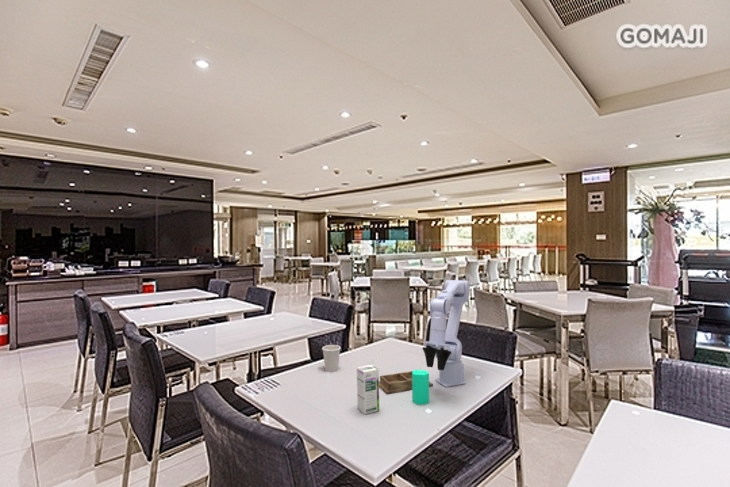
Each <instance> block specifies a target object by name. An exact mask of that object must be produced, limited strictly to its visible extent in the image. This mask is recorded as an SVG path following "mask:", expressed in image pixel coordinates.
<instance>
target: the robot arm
mask: <svg viewBox="0 0 730 487" xmlns="http://www.w3.org/2000/svg"><path fill="white" fill-rule="evenodd" d="M470 285H471V284H470V282H469V281H468V280H467V279H466V280H461V279H460V280H459V279H458V280H457V279H446V280H445V281H444V289H442V291H440V292H439V294H438V296H437V297H436V298H433V299H431V300H430V303H429V313H430V314H429V316H430V331H429V341H427V340H425V341H424V346H423V347H422V351H423V353H424V356H425V362H426V363H425V364H426V367H427V368H433V367H434V363H435V359H437V360H436V361H437V363H436V364H437V370H438V372H439V373H438V375H439V378H435V380H434V381H436V382H438V383H439V384H441V386H444V387H445V388H446V387H447V388H448V387H453V386H459V385H465V384H466V382H465V366H464V365H465V364H464V363H463V361H462V360H461V359H462V355H463V354H462V353H463V350H462V349H463V345H462V342H461V341H460V339H458V337H457V336H458V332H459V328H460V321H461V315H462V311H463V306H464V304H465V303H467V302H468V300H469V298H470V297H469V296H470V291H471V290H470V288H471V287H470ZM447 315H448V316H447Z"/></svg>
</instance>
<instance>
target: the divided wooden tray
mask: <svg viewBox="0 0 730 487" xmlns="http://www.w3.org/2000/svg"><path fill="white" fill-rule="evenodd" d="M413 371H414V370H410V371H405V372H404V371H403V372H398V373H390V374H385V375H380V376H379V389H380V390H382V391H383V392H384V394H385V395H391V394H392V395H393V394H397V393H403V392H409V391H412V372H413ZM433 386H434V384H433V383H432V382H431V381H429V388H432V387H433Z"/></svg>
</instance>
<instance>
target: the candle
mask: <svg viewBox="0 0 730 487" xmlns="http://www.w3.org/2000/svg"><path fill="white" fill-rule="evenodd" d="M412 371H413V372H412V390H411V392H412V396H411V397H412V400H411V401H412V403H413V404H415V405H419V406H421V405H422V406H423V405H428V404H429V403H430V387H429V382H430V373H429V372H428V371H427V370H426V369H421V367H420V368H419V369H414V370H412Z"/></svg>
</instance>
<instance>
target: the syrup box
mask: <svg viewBox="0 0 730 487" xmlns="http://www.w3.org/2000/svg"><path fill="white" fill-rule="evenodd" d="M379 372H380V371H379V368H377V367H376V366H375V365H372V364H369V365H363V366H358V367H356V396H357V409H358V410H359V411H360V412H361V413H363V415H368V414H371V413H375V412H379V411H380V388H379V382H380V376H379V374H380V373H379Z"/></svg>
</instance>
